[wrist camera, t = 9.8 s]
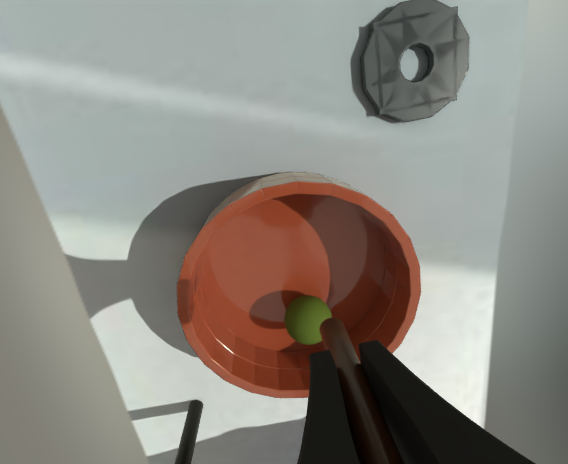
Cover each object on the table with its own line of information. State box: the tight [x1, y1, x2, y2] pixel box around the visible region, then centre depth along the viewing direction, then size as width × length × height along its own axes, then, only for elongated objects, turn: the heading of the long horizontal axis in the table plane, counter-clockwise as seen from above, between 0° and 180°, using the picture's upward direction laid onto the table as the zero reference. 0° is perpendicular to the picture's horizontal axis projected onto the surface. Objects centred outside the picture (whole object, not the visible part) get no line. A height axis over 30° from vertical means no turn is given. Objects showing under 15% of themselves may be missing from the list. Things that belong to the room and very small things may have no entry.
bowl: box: [177, 172, 421, 398], centre depth 18 cm, size 13×13×4 cm
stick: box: [319, 318, 404, 464], centre depth 9 cm, size 1×1×6 cm
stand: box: [175, 400, 203, 464], centre depth 19 cm, size 1×1×8 cm
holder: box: [361, 0, 469, 122], centre depth 16 cm, size 6×6×1 cm
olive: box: [284, 295, 332, 345], centre depth 19 cm, size 3×3×3 cm
